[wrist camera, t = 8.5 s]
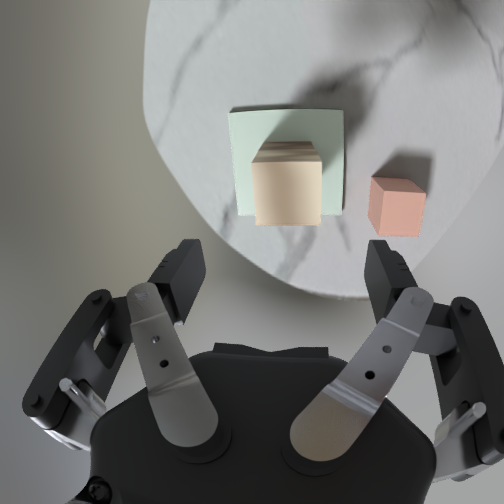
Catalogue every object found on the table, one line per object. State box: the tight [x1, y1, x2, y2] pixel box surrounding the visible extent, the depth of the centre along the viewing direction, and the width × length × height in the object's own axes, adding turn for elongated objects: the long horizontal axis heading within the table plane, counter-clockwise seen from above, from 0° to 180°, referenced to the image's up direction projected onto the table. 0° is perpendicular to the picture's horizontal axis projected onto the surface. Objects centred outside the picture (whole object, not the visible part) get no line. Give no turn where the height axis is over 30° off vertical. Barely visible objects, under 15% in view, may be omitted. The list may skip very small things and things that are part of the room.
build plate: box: [228, 109, 344, 216], centre depth 29 cm, size 12×12×1 cm
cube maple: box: [251, 149, 322, 226], centre depth 22 cm, size 5×5×5 cm
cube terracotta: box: [368, 177, 426, 237], centre depth 27 cm, size 5×5×5 cm
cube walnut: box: [258, 141, 315, 151], centre depth 26 cm, size 5×5×5 cm
